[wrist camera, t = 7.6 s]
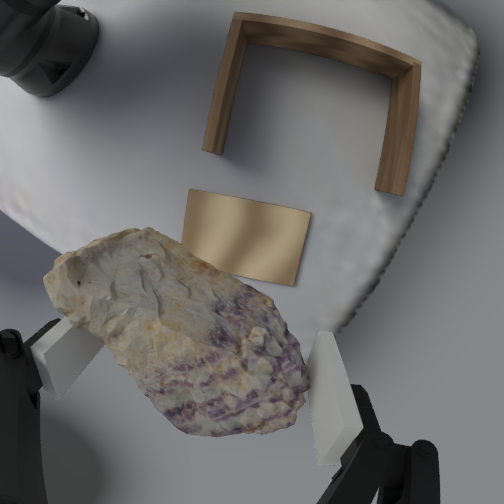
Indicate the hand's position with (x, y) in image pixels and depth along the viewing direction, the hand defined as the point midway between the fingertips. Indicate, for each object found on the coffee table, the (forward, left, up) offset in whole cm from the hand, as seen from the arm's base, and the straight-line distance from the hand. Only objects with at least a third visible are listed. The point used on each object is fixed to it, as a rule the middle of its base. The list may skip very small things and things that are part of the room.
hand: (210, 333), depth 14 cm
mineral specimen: (-1, 0, -1) cm, 2 cm away
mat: (0, 0, -20) cm, 20 cm away
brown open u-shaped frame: (+5, +17, -20) cm, 27 cm away
